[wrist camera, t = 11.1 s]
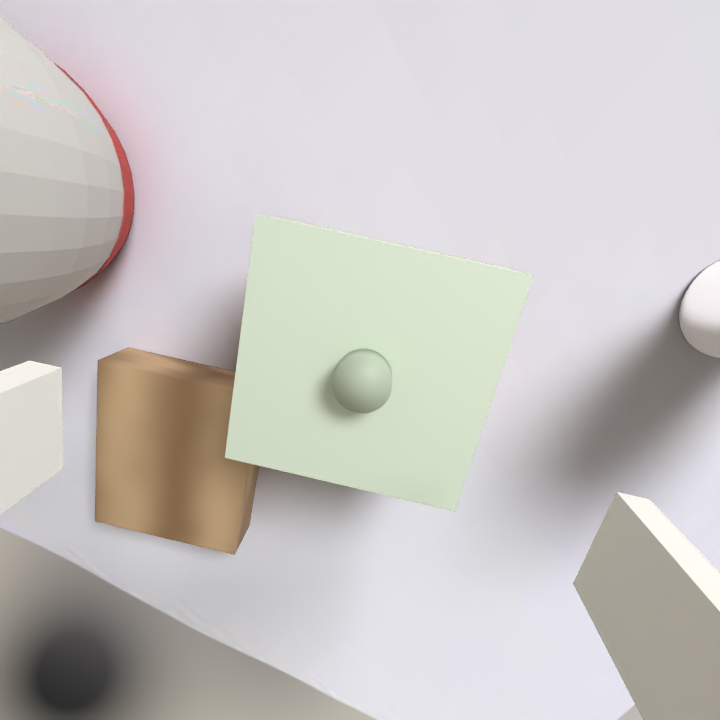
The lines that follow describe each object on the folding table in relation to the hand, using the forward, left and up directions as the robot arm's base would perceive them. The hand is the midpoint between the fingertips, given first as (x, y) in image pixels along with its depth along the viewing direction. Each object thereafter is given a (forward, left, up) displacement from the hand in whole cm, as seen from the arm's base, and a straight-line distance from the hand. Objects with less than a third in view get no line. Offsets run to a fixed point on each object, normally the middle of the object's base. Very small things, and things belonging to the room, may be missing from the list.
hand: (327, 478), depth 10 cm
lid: (0, 0, -11) cm, 11 cm away
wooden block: (-11, -11, -17) cm, 23 cm away
